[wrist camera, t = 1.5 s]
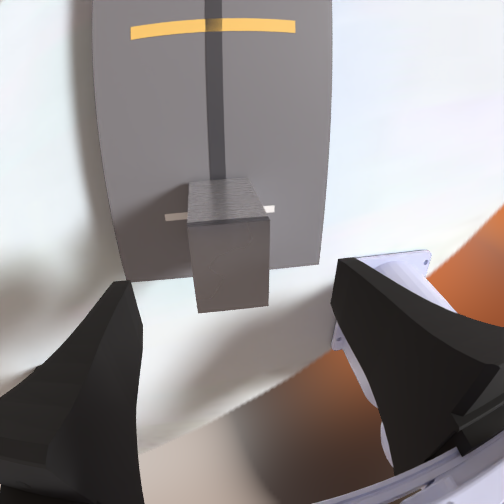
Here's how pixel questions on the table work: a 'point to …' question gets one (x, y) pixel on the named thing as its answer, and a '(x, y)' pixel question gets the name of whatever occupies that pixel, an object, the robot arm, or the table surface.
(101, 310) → the robot arm
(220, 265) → the fader knob
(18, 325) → the table surface
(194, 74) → the fader console
